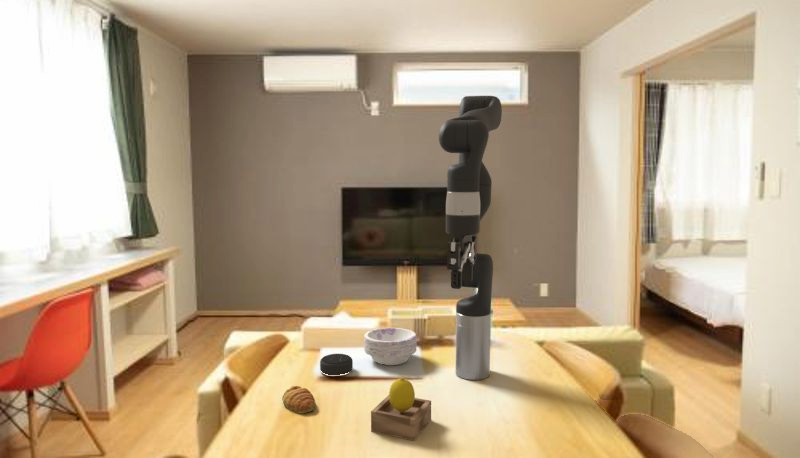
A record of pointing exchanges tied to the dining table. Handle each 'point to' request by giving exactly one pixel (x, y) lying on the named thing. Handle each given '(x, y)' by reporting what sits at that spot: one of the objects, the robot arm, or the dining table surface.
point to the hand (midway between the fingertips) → (462, 284)
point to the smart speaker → (336, 364)
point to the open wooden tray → (401, 419)
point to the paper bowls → (390, 345)
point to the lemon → (401, 395)
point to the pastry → (299, 399)
